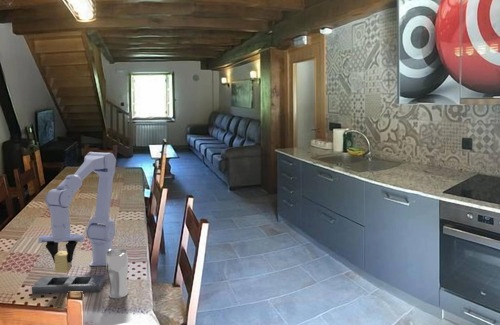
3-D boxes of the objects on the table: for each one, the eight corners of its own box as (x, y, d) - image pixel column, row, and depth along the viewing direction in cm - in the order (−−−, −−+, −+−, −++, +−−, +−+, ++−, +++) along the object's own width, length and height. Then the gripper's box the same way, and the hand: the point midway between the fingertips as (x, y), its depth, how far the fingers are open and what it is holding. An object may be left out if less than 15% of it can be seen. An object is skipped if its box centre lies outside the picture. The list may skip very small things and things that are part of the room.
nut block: (60, 267, 140) (58, 251, 139) (71, 267, 141) (70, 250, 140) (55, 272, 136) (54, 255, 135) (67, 271, 137) (66, 255, 136)
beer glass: (107, 291, 136) (105, 249, 134) (128, 287, 139) (126, 246, 136) (108, 301, 130) (105, 257, 127) (130, 297, 132) (128, 254, 130)
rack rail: (42, 282, 142) (42, 276, 141) (105, 281, 144) (105, 274, 143) (32, 293, 134) (31, 287, 134) (99, 291, 136) (98, 285, 135)
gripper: (33, 228, 131) (36, 267, 134) (78, 227, 133) (81, 265, 135) (42, 221, 138) (45, 258, 140) (85, 220, 139) (87, 257, 142)
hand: (63, 261), depth 138 cm, fingers closed on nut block, 4 cm apart
